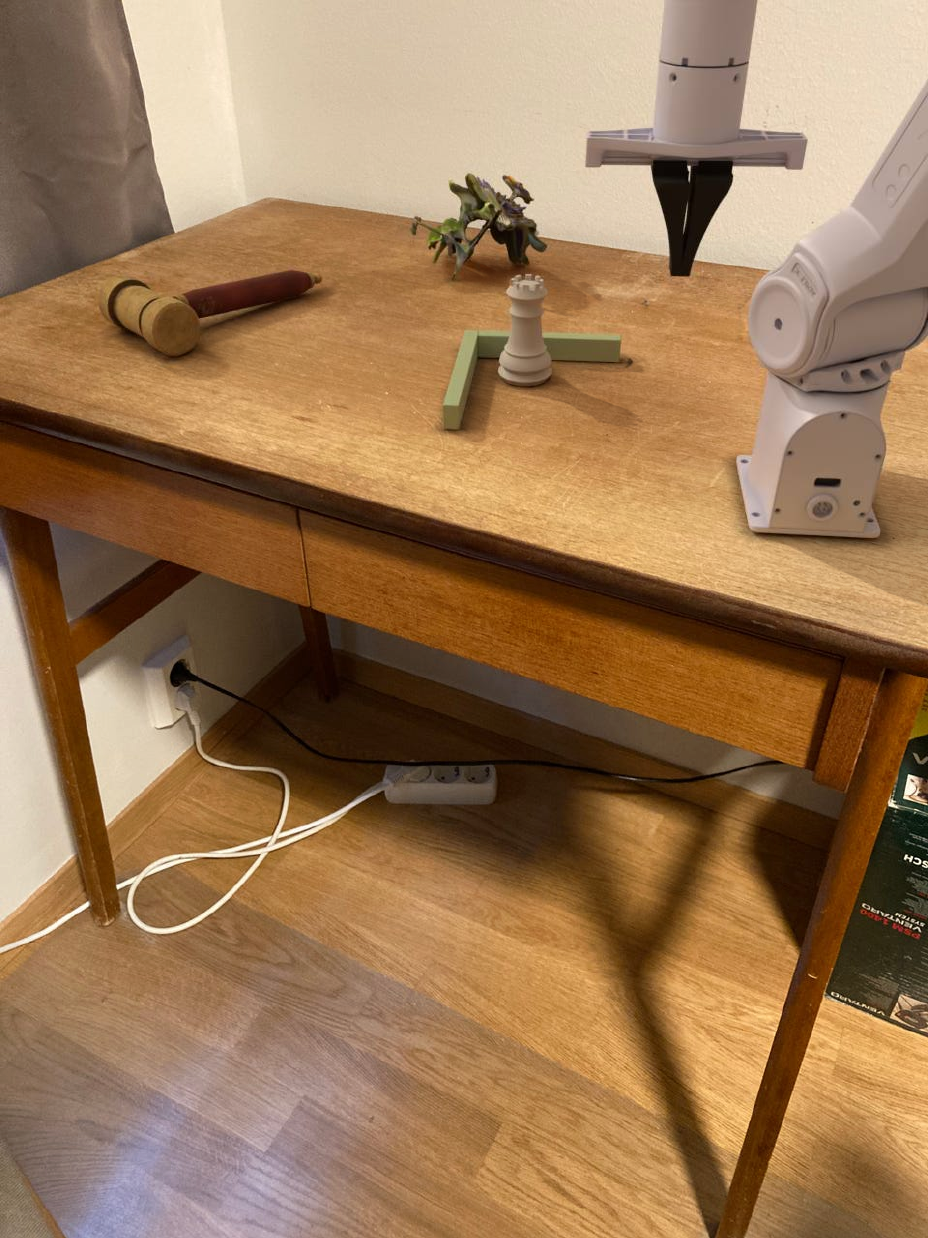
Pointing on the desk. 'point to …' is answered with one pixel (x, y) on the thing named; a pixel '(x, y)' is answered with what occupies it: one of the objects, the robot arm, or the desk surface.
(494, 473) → the desk surface
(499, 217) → the passion flower
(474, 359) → the corner guide
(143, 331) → the gavel
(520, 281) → the rook chess piece
